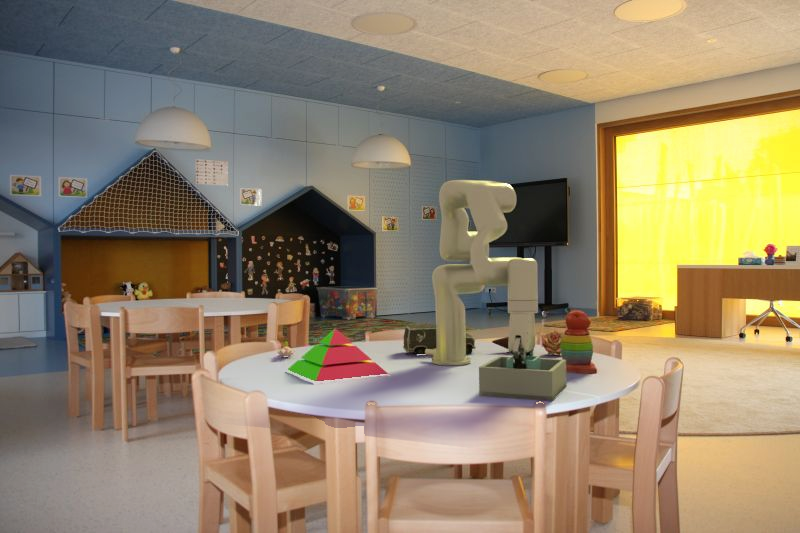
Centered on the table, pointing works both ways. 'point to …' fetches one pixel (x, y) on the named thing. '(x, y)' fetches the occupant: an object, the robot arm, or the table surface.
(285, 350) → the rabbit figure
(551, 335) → the flower
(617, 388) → the table surface
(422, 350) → the toy van
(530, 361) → the box
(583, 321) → the stacking bear
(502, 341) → the icecream
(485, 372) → the big crate
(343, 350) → the pyramid toy
